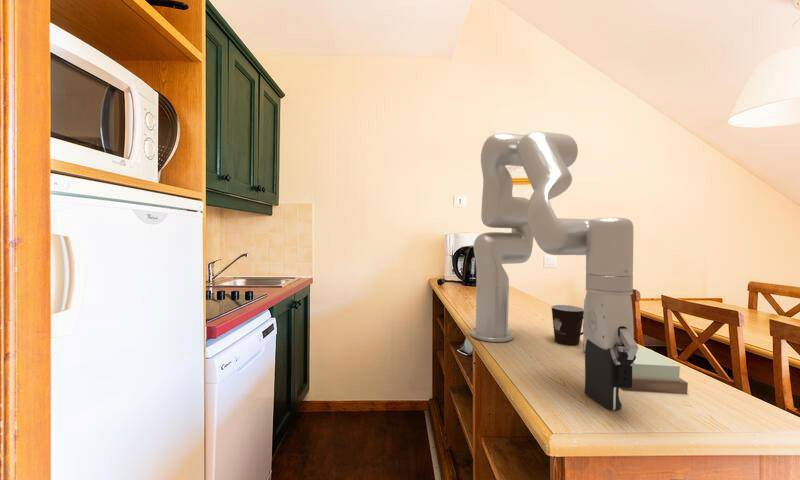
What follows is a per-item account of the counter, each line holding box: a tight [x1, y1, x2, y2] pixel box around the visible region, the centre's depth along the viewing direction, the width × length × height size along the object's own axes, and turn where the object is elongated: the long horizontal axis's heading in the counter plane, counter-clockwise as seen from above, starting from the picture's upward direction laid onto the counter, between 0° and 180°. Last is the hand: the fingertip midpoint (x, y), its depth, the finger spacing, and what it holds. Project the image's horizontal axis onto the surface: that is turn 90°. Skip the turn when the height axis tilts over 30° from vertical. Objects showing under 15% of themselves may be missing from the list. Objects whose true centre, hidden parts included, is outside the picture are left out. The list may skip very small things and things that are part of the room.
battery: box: [584, 340, 622, 411], centre depth 65 cm, size 7×4×11 cm, turn 11°
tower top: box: [632, 348, 681, 381], centre depth 75 cm, size 10×10×3 cm
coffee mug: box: [551, 304, 584, 347], centre depth 99 cm, size 12×9×10 cm
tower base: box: [620, 377, 689, 395], centre depth 75 cm, size 12×12×3 cm
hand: (607, 375), depth 65 cm, fingers open, 9 cm apart
